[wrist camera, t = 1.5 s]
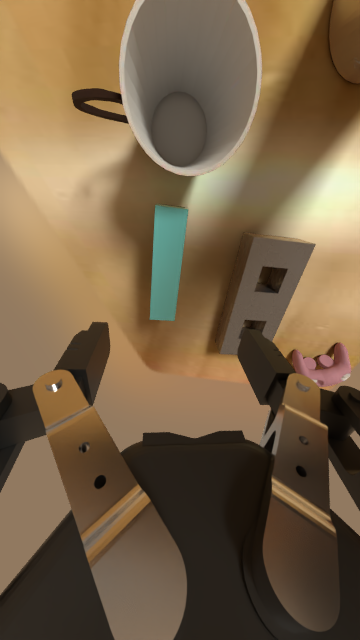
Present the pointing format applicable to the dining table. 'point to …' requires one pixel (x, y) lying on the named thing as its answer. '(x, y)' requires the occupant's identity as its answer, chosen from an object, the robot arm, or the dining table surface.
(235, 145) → the coffee mug
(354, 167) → the dining table surface
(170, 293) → the two prong clip
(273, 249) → the slotted rail
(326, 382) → the video game controller
